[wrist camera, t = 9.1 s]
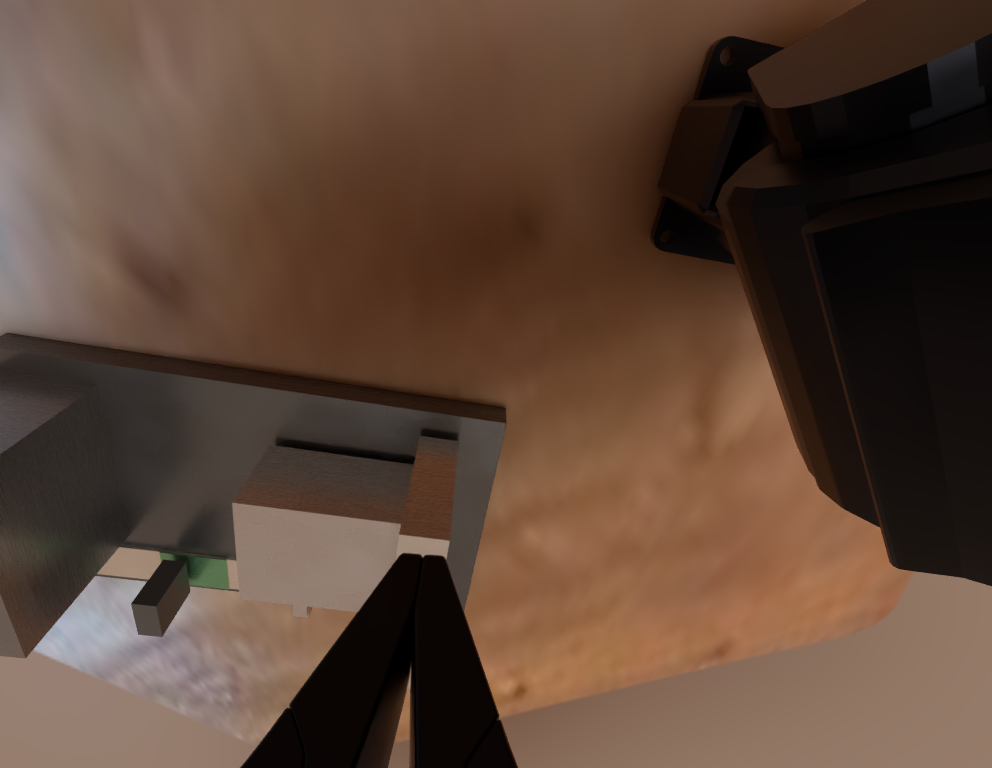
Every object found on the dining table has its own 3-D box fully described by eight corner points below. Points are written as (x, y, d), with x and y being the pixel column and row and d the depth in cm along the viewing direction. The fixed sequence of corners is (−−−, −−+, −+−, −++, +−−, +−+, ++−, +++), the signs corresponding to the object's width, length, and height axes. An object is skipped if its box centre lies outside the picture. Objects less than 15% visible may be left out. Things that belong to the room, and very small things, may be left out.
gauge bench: (505, 408, 22) (511, 529, 16) (463, 596, 28) (456, 742, 21) (6, 333, 20) (-216, 436, 14) (69, 551, 26) (-69, 696, 19)
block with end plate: (458, 441, 21) (449, 540, 16) (430, 603, 26) (416, 718, 21) (268, 414, 20) (199, 509, 15) (274, 585, 25) (222, 700, 20)
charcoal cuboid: (185, 562, 24) (156, 606, 22) (190, 591, 25) (162, 636, 22) (163, 559, 24) (131, 603, 21) (168, 589, 25) (138, 634, 22)
